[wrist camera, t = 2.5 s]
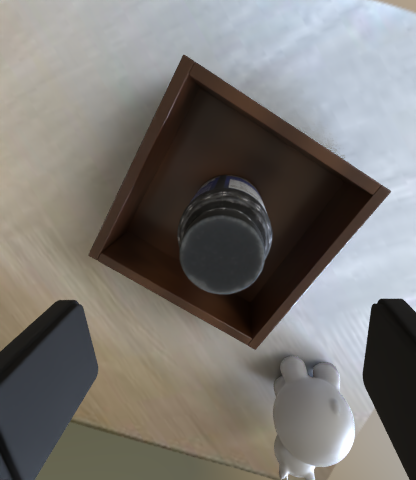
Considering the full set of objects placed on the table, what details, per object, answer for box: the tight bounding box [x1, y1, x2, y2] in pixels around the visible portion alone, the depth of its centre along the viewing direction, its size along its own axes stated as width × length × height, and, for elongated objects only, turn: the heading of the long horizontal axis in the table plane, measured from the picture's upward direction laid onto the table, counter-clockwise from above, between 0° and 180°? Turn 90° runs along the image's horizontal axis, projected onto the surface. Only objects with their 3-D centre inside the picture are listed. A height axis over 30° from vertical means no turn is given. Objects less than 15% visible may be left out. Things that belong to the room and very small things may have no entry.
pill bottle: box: [177, 175, 273, 294], centre depth 21 cm, size 6×6×11 cm
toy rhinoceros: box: [273, 356, 355, 480], centre depth 29 cm, size 7×12×8 cm, turn 166°
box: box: [89, 55, 391, 350], centre depth 24 cm, size 16×16×6 cm
